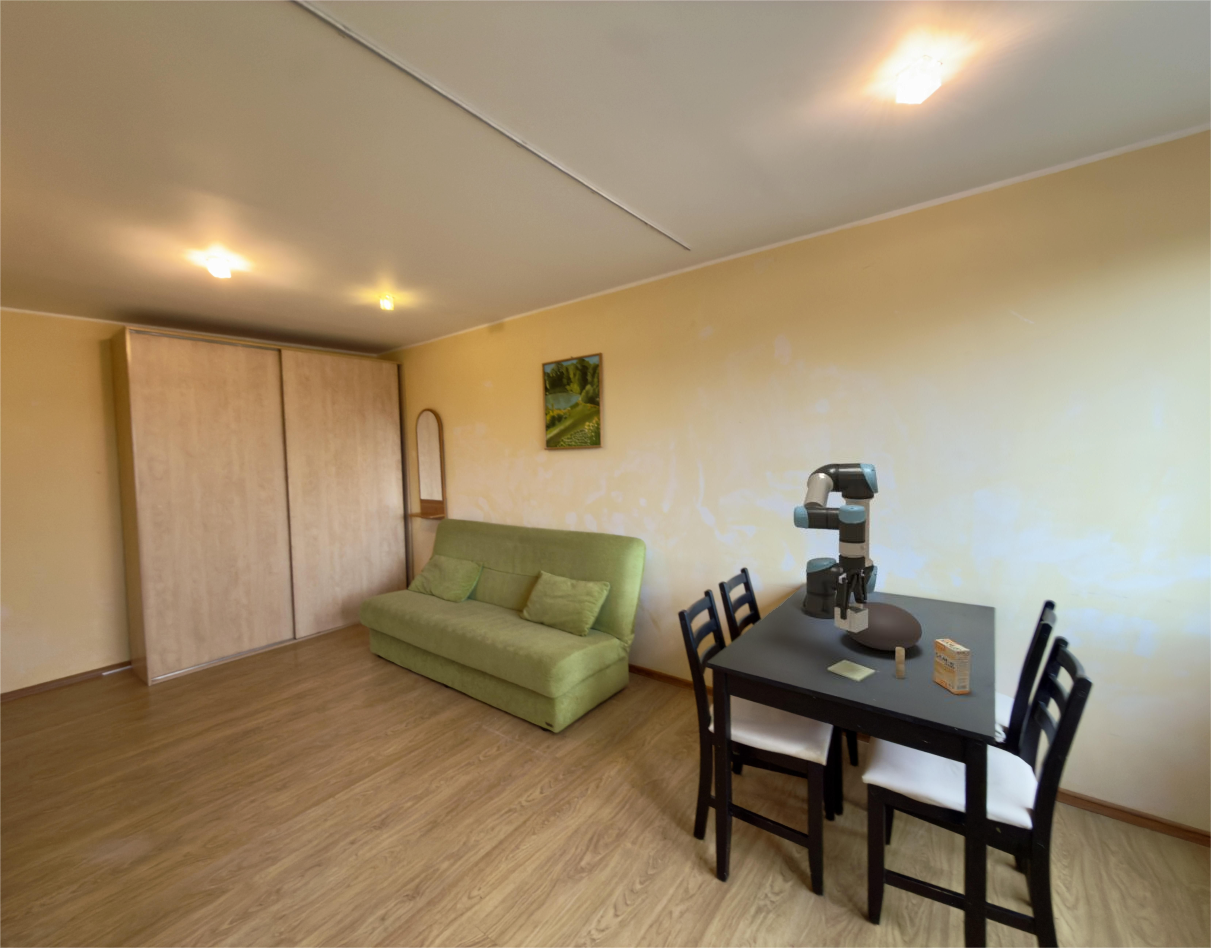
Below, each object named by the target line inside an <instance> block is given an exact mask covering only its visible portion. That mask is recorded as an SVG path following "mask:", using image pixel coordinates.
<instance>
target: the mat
mask: <svg viewBox="0 0 1211 948" xmlns="http://www.w3.org/2000/svg"><path fill="white" fill-rule="evenodd" d="M827 671H828V672H832V673H835V674H837V675H839V676H842V677H845V678H847V679H850V680H853V681H855V682H861V681H863V680H864V679H866V678H868V677H870V676H871V675H874V674H876V670H874V669H871V668H869V667H866V666H863V665H860V664H857V663H856V662H855V663H854V662H852V661H849V660H847V659H843V660H841V661H839V662H836V664H833V665H832V666H829V667H828V668H827Z"/></svg>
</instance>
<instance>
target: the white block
mask: <svg viewBox="0 0 1211 948" xmlns="http://www.w3.org/2000/svg"><path fill="white" fill-rule="evenodd" d="M848 609H850V630H849V631H852V632H855V633H857V632H859V631H861V630H863V629H866V628H868V609H867V608H863V607H859V606H855V605H853V604H851V603H849V607H848ZM834 627H837V628H840V608H837V607H835V618H834ZM840 629H841V628H840Z"/></svg>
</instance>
